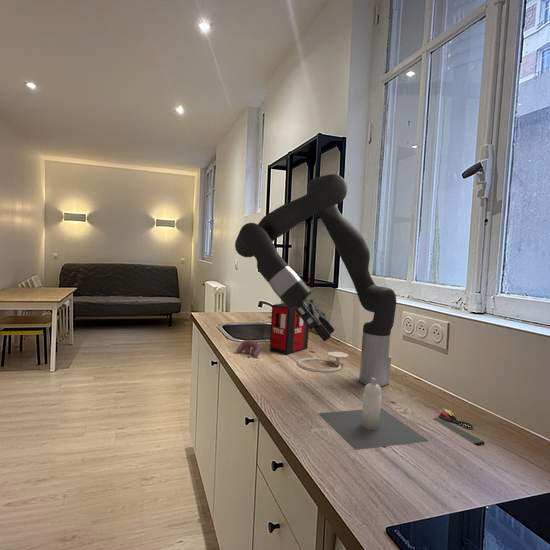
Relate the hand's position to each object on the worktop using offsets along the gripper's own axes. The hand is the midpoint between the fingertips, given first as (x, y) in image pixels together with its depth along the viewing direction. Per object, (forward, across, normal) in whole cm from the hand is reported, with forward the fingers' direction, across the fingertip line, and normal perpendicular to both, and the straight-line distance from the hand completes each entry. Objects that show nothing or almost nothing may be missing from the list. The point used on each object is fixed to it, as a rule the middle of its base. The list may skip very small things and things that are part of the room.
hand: (330, 335), depth 104 cm
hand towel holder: (+11, +52, +21) cm, 57 cm away
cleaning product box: (-1, +69, +33) cm, 76 cm away
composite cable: (+40, +13, -8) cm, 43 cm away
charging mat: (+24, 0, +8) cm, 25 cm away
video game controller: (-10, +54, +43) cm, 69 cm away
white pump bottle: (+24, 0, +7) cm, 25 cm away
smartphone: (+39, +6, -6) cm, 40 cm away
